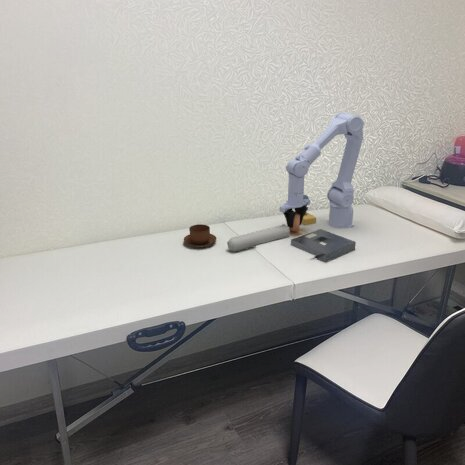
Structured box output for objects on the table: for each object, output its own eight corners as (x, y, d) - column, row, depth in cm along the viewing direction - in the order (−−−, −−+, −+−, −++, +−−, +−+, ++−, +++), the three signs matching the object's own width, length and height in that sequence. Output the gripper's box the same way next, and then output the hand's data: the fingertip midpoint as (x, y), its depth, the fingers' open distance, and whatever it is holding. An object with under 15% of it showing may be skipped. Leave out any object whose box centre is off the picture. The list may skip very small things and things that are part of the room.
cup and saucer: (177, 246, 158) (176, 230, 155) (195, 235, 168) (194, 220, 165) (205, 252, 153) (205, 236, 150) (222, 240, 162) (222, 225, 160)
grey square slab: (319, 236, 165) (320, 228, 164) (354, 249, 154) (355, 241, 153) (290, 247, 156) (290, 239, 155) (325, 262, 144) (326, 253, 143)
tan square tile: (293, 228, 173) (293, 226, 172) (308, 234, 167) (308, 232, 167) (278, 233, 168) (279, 231, 168) (294, 239, 162) (294, 237, 162)
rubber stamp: (290, 220, 182) (292, 192, 177) (302, 218, 184) (303, 190, 180) (304, 227, 174) (306, 199, 169) (316, 225, 176) (318, 197, 171)
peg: (293, 226, 169) (294, 212, 167) (301, 229, 167) (302, 214, 164) (286, 229, 167) (287, 214, 165) (294, 232, 164) (294, 217, 162)
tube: (231, 256, 152) (288, 240, 163) (233, 244, 148) (291, 229, 160) (223, 247, 155) (280, 232, 167) (225, 235, 152) (283, 221, 164)
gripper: (301, 185, 168) (299, 218, 173) (274, 193, 160) (273, 227, 165) (315, 189, 163) (312, 223, 168) (288, 197, 155) (286, 232, 160)
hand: (294, 225), depth 166 cm, fingers closed on peg, 4 cm apart
